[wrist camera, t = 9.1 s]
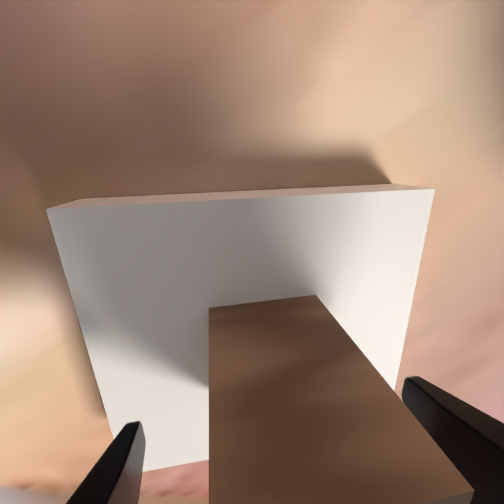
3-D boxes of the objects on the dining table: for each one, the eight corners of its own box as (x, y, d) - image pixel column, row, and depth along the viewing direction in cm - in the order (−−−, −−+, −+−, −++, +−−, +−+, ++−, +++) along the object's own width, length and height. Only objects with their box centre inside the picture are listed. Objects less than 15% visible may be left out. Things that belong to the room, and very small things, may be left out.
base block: (392, 183, 13) (435, 188, 10) (362, 389, 17) (387, 425, 15) (81, 198, 11) (45, 209, 8) (137, 426, 15) (124, 475, 13)
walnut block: (315, 294, 11) (474, 490, 4) (312, 377, 12) (427, 615, 6) (208, 307, 10) (209, 558, 4) (218, 393, 12) (231, 676, 5)
